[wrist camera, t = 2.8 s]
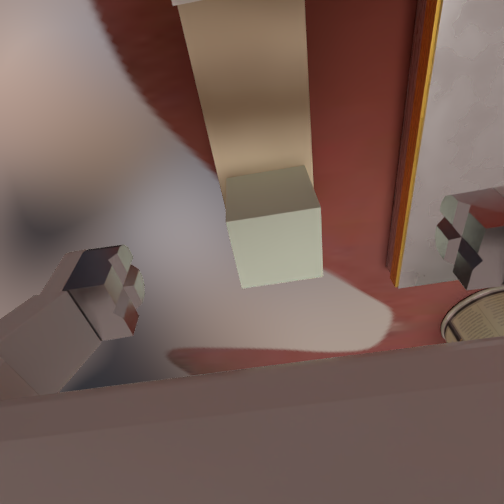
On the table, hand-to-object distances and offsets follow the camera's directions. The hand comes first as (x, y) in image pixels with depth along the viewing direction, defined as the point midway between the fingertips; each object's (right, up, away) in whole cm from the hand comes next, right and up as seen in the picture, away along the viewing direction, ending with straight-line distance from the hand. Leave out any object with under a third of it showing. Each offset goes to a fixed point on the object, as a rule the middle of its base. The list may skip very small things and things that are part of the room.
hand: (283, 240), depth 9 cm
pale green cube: (0, +3, +14) cm, 15 cm away
